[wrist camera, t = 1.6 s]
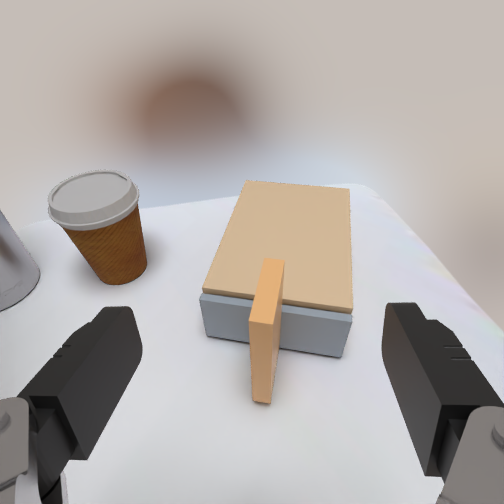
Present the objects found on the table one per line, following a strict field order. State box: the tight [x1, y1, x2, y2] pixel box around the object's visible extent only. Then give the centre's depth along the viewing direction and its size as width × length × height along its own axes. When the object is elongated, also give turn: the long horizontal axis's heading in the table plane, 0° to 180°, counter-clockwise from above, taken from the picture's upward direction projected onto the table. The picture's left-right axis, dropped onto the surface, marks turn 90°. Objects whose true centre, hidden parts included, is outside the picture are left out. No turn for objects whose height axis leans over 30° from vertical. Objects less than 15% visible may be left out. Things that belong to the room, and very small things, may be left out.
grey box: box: [199, 258, 352, 404], centre depth 35 cm, size 26×14×12 cm, turn 169°
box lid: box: [202, 180, 353, 314], centre depth 40 cm, size 20×14×7 cm
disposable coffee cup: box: [48, 170, 147, 285], centre depth 40 cm, size 10×10×12 cm
